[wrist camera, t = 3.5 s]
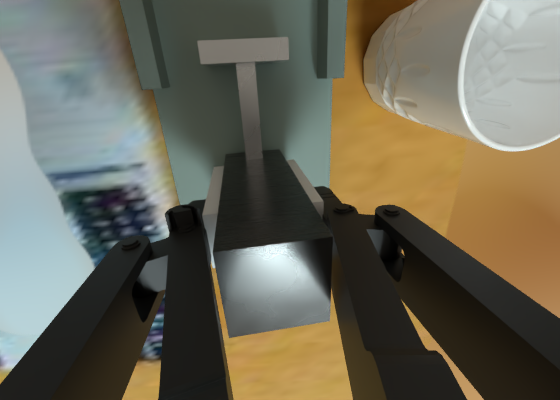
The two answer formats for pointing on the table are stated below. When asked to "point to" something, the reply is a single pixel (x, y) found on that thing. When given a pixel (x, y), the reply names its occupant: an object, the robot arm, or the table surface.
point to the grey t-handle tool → (265, 216)
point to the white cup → (472, 69)
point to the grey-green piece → (224, 85)
